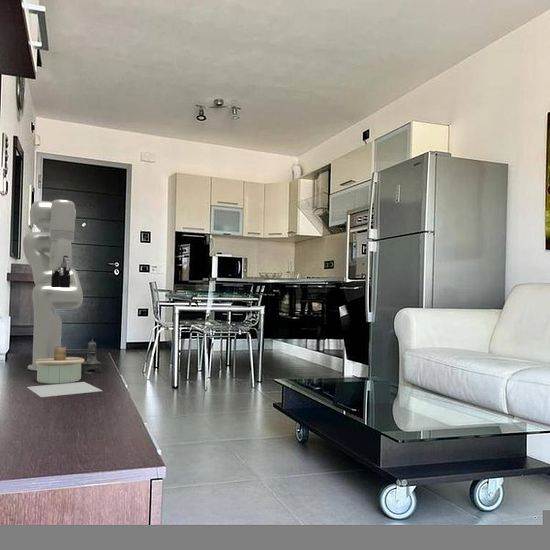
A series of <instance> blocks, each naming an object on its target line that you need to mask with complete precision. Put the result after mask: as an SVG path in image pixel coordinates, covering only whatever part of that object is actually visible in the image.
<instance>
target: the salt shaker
mask: <svg viewBox="0 0 550 550" xmlns="http://www.w3.org/2000/svg"><path fill="white" fill-rule="evenodd" d="M86 353H87V355H86V356H87V358H86V360H85V361H84V362H83V363H82V365H83V367H84V369H85V371H83V374H86V375H93V374H94V375H95V374H99V373H100V371H98V370H97V369H99V368H100V364H101V362H100V361H98V359H97V354H98V351H97V343H96V342H95V341H94V339H91V341H89V342H88V343H87V351H86Z"/></svg>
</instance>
